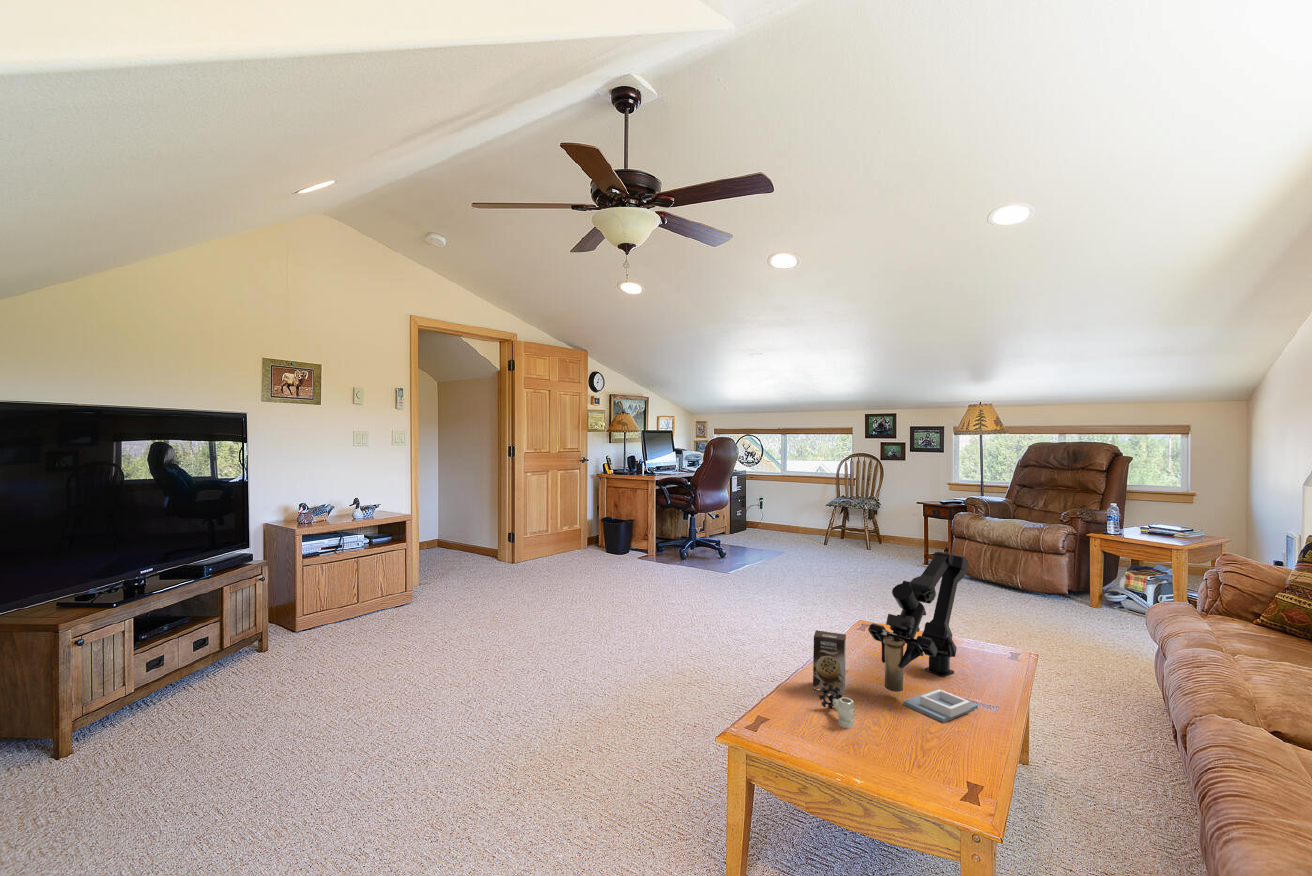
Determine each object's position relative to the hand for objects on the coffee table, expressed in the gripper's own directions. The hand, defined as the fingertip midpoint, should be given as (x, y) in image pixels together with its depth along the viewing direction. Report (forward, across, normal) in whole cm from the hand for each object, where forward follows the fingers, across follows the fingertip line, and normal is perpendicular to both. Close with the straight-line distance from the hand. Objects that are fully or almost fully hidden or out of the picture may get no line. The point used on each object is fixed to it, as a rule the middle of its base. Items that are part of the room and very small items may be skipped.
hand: (891, 664), depth 163 cm
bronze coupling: (+4, 0, +6) cm, 7 cm away
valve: (+22, -3, -8) cm, 24 cm away
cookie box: (+12, -16, +2) cm, 20 cm away
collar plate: (+2, +11, +12) cm, 16 cm away
